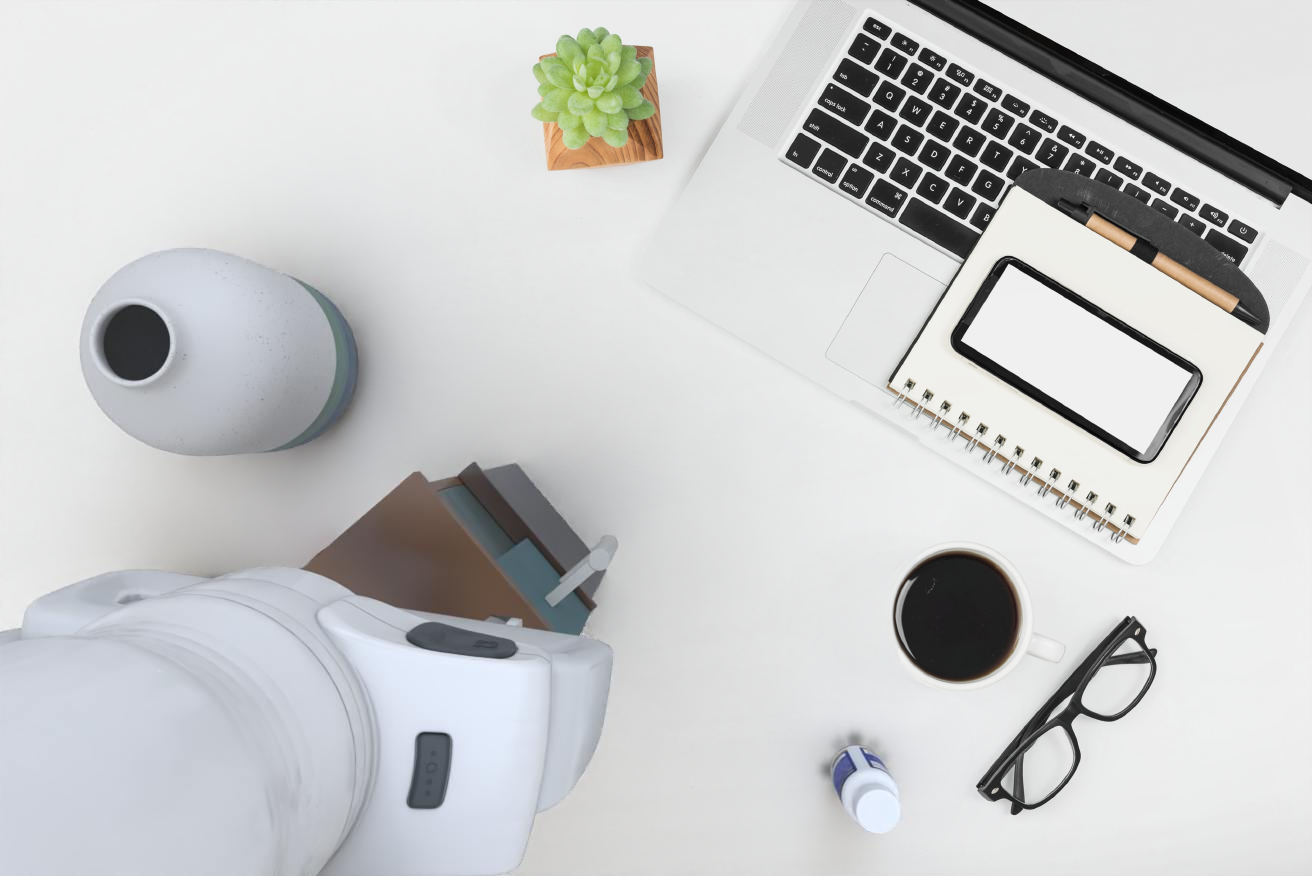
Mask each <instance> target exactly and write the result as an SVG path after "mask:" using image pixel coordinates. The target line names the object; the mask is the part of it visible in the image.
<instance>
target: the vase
mask: <svg viewBox="0 0 1312 876" xmlns="http://www.w3.org/2000/svg"><path fill="white" fill-rule="evenodd" d="M356 342H357V341H356V339H355V336H354V334H353V332H352V329H351V327H350V325H349V323H348V320H346V318H345V317H344V315H343V314H342V312H341V311H340V310H339V308H338V307H337V306H336V305H335V304H334V303H333V302H332V301H331V299H329V298H328V297H327V296H326V295H324V294H323V293H322V292H320V291H319V290H318V289H316V288H315V287H313V286H311V285H310V284H308V283H306V282H304V281H302V280H299V279H298V278H296V277H293V276H291V275H288V274H285V273H283V272H280V271H278V270H277V269H276V270H275V269H274V268H270V267H268V266H265V265H263V264H260V263H258V262H256V261H253V260H250V259H247V258H246V257H243V256H239V255H236V254H233V253H230V252H226V251H221V250H217V249H212V248H207V247H206V248H205V247H204V248H203V247H175V248H170V249H164V250H159V251H156V252H152V253H150V254H149V253H148V254H147V255H144V256H141V257H139V258H137V259H134V260H132V261H130V262H129V263H128V264H126V265H124V266H123V267H121V268H120V269H118V270H117V271H116V272H115V273H114V274H112V275H111V276H110V277H109V278H108V279H107V280H106V281H105V282H104V283H103V284H102V285H101V286H100V288H99V289H98V291H97V292H96V293H95V294H94V296H93V297H92V299H91V302H90V303H89V305H88V307H87V309H86V312H85V315H84V317H83V321H82V323H81V329H80V335H79V362H80V367H81V371H82V375H83V378H84V381H85V383H86V386H87V389H88V390H89V393H90V395H91V396H92V398H93V399H94V401H95V403H96V405H97V407H98V408H99V409H100V410H101V411H102V413H103V414H104V415H105V416H106V417H107V418H108V419H109V420H110V421H111V422H113V423H114V424H115V425H116V426H117V427H118V428H119V429H120V430H122V431H123V432H124V433H126V434H128V435H129V436H130V437H132V438H133V439H135V440H137V441H139V442H141V443H143V444H144V445H146V446H149V447H151V448H154V449H156V450H159V451H164V452H167V453H172V454H176V455H180V456H189V457H190V456H191V457H222V456H223V457H224V456H225V457H226V456H238V455H239V456H240V455H254V454H263V453H266V454H267V453H274V452H281V451H287V450H290V449H295V448H297V447H299V446H303V445H306V444H307V443H309V442H312V441H314V440H316V439H317V438H319V437H321V435H323V434H324V433H325V432H327V431H328V430H329V429H331V428H332V427H333V426H334V425H335V424H336V423H337V421H338V420H339V419H340V418H341V417H342V416H343V414H344V412H345V411H346V410H347V408H348V406H349V405H350V404H351V403H350V402H351V400H352V398H353V397H354V394H355V392H356V391H355V390H356V387H357V384H358V379H359V371H360V370H359V367H360V366H359V365H360V362H359V361H360V360H359V351H358V347H357V343H356Z"/></svg>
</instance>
